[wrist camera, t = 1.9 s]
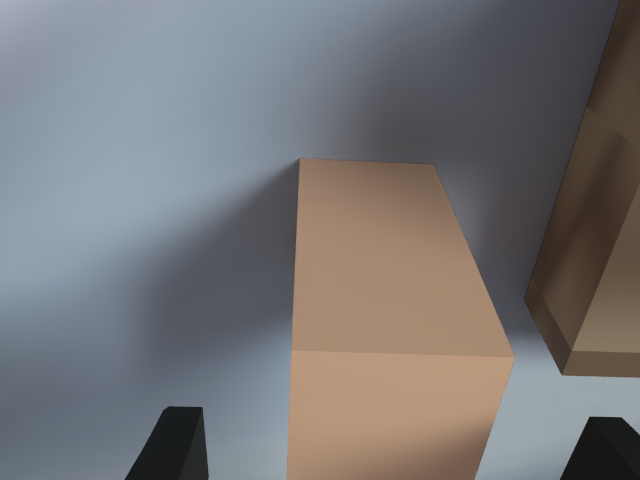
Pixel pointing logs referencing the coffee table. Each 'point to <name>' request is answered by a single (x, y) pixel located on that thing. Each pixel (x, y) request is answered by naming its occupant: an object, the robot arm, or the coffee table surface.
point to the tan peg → (388, 330)
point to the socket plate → (598, 226)
